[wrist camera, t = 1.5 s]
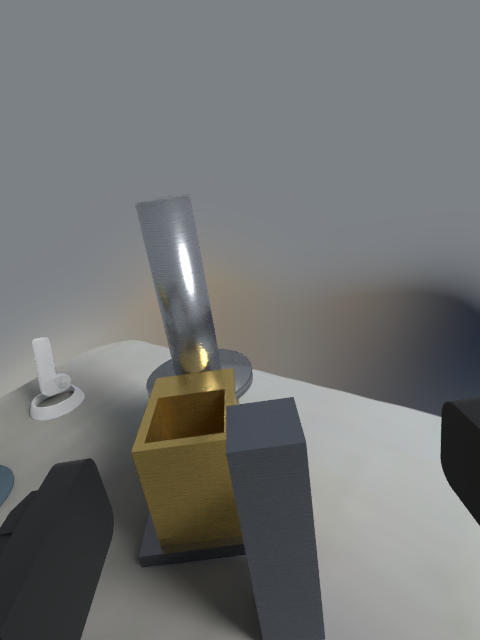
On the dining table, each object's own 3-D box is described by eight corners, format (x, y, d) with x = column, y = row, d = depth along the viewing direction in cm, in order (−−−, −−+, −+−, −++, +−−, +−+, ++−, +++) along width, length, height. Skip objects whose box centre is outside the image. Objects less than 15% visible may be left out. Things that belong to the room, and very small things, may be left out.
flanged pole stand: (173, 422, 49) (117, 202, 39) (259, 410, 49) (225, 186, 38) (142, 567, 31) (24, 233, 21) (275, 550, 31) (222, 203, 21)
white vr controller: (65, 346, 64) (74, 331, 59) (82, 416, 61) (93, 407, 56) (14, 355, 60) (18, 339, 54) (30, 430, 57) (36, 422, 52)
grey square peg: (259, 584, 29) (226, 406, 23) (312, 577, 29) (293, 397, 23) (264, 646, 25) (225, 452, 19) (325, 639, 25) (306, 442, 19)
